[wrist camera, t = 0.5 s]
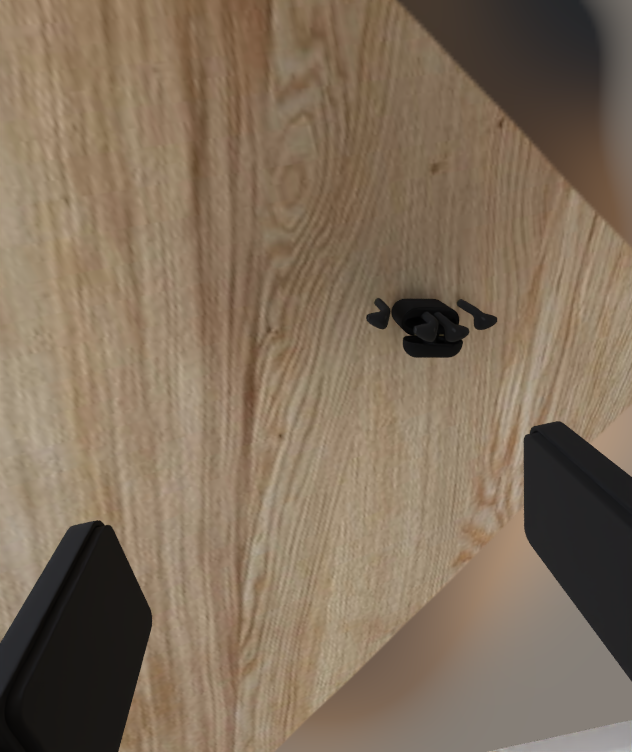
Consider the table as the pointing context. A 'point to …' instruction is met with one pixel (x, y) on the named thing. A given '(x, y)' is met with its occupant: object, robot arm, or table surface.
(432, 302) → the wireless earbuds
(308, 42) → the table surface
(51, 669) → the robot arm
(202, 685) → the table surface
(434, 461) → the table surface
